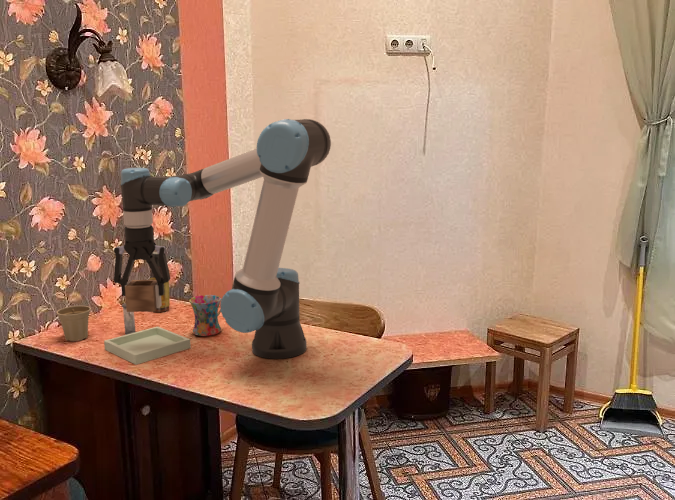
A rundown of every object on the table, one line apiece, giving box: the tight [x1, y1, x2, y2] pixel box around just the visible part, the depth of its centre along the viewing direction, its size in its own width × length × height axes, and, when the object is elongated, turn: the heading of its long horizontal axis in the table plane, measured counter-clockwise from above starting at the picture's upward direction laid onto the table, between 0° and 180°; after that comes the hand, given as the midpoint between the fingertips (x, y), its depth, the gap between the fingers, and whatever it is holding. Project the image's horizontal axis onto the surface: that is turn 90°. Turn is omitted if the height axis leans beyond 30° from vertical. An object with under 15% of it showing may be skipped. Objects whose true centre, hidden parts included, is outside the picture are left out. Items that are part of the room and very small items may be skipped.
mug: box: [188, 294, 222, 337], centre depth 199 cm, size 12×9×11 cm
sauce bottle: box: [149, 251, 171, 313], centre depth 221 cm, size 6×6×20 cm
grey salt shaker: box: [121, 302, 136, 335], centre depth 199 cm, size 4×4×9 cm
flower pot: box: [56, 305, 92, 342], centre depth 195 cm, size 9×9×9 cm
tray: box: [103, 326, 192, 366], centre depth 186 cm, size 17×17×3 cm
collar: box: [125, 279, 157, 313], centre depth 183 cm, size 8×8×7 cm
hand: (144, 306), depth 184 cm, fingers closed on collar, 7 cm apart
